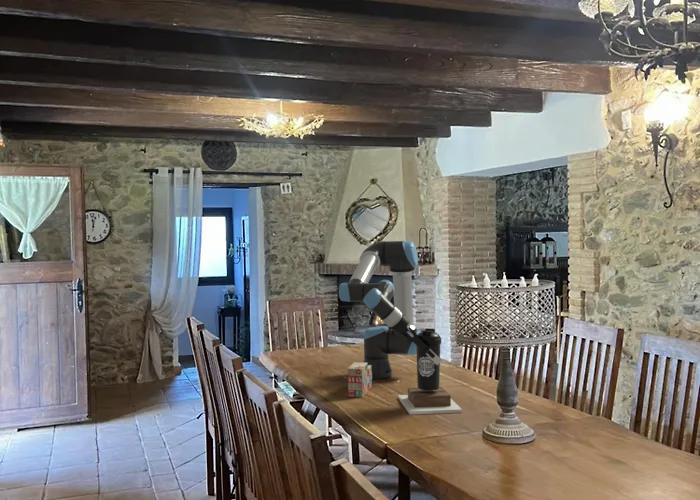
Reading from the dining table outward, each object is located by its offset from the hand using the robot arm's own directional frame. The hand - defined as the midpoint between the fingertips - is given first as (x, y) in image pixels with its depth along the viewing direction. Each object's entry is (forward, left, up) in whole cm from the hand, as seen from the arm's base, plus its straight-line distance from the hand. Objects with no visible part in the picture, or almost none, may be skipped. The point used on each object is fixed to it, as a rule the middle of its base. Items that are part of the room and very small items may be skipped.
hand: (436, 359), depth 250 cm
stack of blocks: (-26, -27, -18) cm, 42 cm away
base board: (0, -3, -18) cm, 18 cm away
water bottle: (0, -3, -11) cm, 12 cm away
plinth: (0, -3, -17) cm, 17 cm away
